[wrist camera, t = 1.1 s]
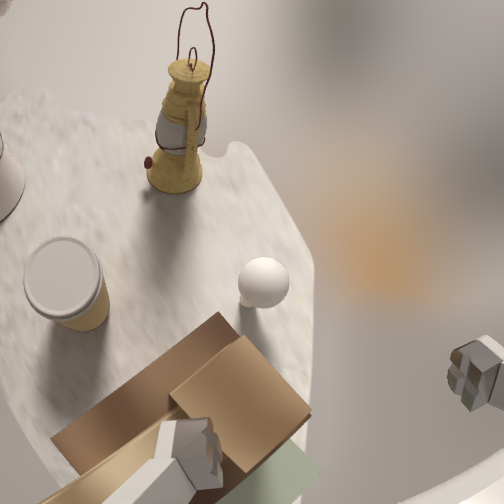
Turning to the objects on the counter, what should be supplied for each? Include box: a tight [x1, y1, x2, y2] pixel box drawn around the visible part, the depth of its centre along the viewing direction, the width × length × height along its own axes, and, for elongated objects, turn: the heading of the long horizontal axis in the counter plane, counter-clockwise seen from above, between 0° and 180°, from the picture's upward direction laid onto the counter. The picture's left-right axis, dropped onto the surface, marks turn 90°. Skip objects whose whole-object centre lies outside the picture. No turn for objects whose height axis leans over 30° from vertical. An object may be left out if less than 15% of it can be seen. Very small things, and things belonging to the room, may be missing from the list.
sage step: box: [215, 439, 324, 504], centre depth 29 cm, size 12×9×16 cm
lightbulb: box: [238, 257, 289, 308], centre depth 41 cm, size 6×6×11 cm
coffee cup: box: [23, 236, 110, 332], centre depth 34 cm, size 9×9×12 cm
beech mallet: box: [38, 335, 312, 504], centre depth 10 cm, size 19×4×4 cm, turn 133°
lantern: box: [144, 2, 215, 194], centre depth 38 cm, size 12×10×30 cm
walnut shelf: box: [50, 311, 311, 504], centre depth 26 cm, size 12×8×26 cm, turn 133°
